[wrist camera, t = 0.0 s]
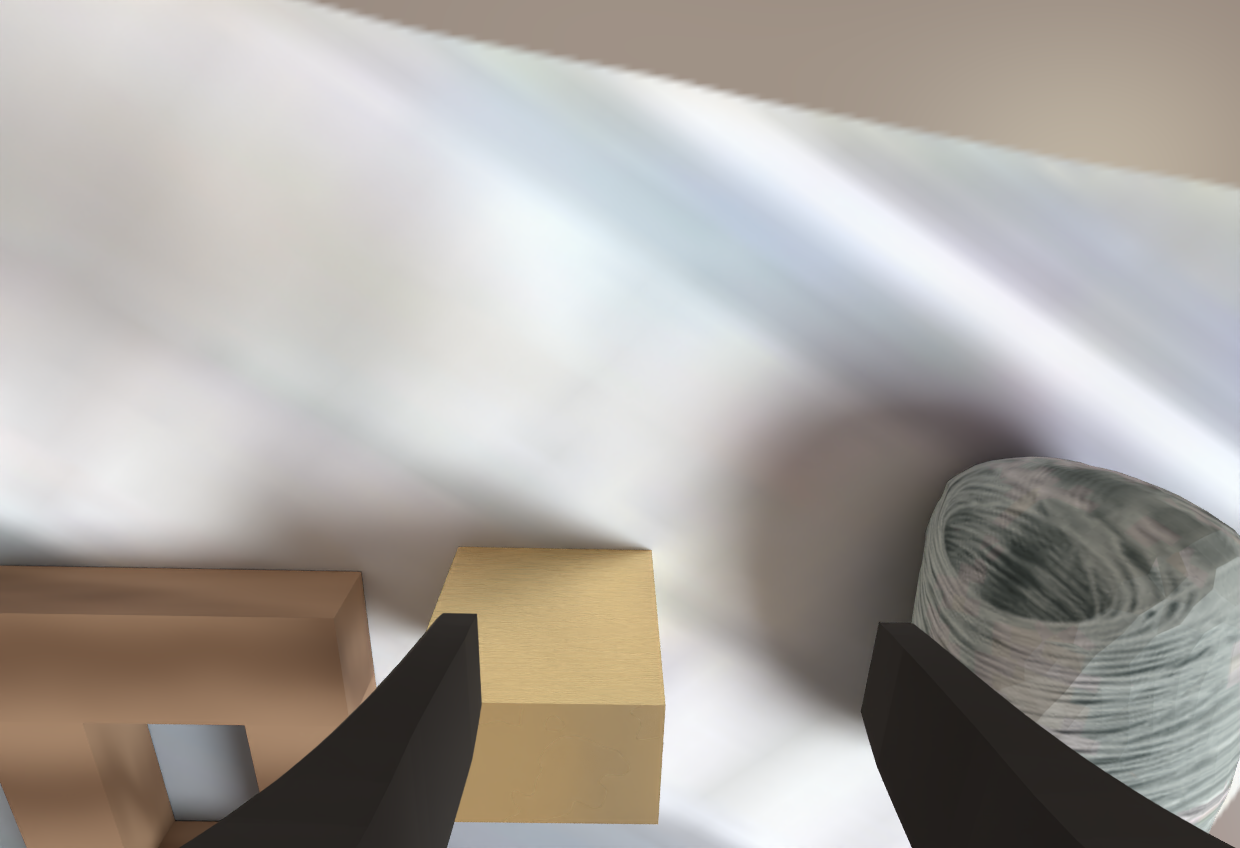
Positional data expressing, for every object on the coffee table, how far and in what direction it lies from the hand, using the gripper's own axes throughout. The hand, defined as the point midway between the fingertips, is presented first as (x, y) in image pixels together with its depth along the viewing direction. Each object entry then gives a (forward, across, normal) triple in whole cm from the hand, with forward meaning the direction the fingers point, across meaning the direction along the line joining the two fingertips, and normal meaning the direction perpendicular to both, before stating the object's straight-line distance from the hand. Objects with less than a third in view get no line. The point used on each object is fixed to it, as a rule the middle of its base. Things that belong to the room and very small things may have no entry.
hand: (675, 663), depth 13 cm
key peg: (+10, +3, +6) cm, 12 cm away
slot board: (+10, +15, +13) cm, 23 cm away
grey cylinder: (+10, -12, +6) cm, 17 cm away
